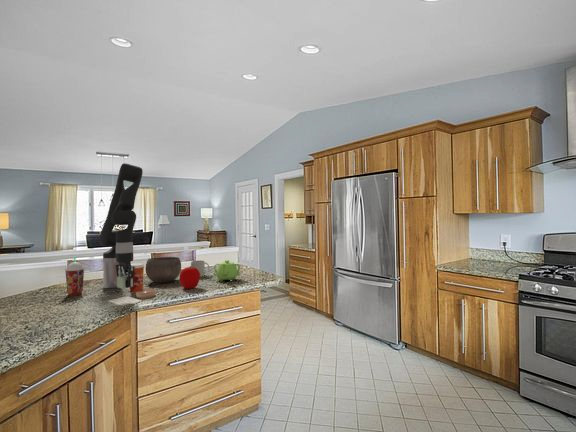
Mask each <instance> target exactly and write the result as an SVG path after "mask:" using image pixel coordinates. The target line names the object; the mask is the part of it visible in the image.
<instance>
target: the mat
mask: <svg viewBox="0 0 576 432" xmlns="http://www.w3.org/2000/svg"><path fill="white" fill-rule="evenodd" d="M138 302H142V300H141V299H139V298H136V297H131V296H128V295H127V296H122V297H118V298H114V299H109V300H108V303H111V304H112V303H113V304H115V305H118V306H121V307H123V306H126V305H130V304H133V303H134V304H135V303H138Z"/></svg>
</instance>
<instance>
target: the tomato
mask: <svg viewBox="0 0 576 432" xmlns="http://www.w3.org/2000/svg"><path fill="white" fill-rule="evenodd" d="M200 279H201V277H200V272H199V270H198V269H197V268H196V267H191V265H190V266H187V267H185V268H183V269H181V271H180V274H179V283H180V284H181V286H182V288H184V289H186V290H187V289H188V290H192V289H195V288H196V287H197V286H198V285H199V282H200Z"/></svg>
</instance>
